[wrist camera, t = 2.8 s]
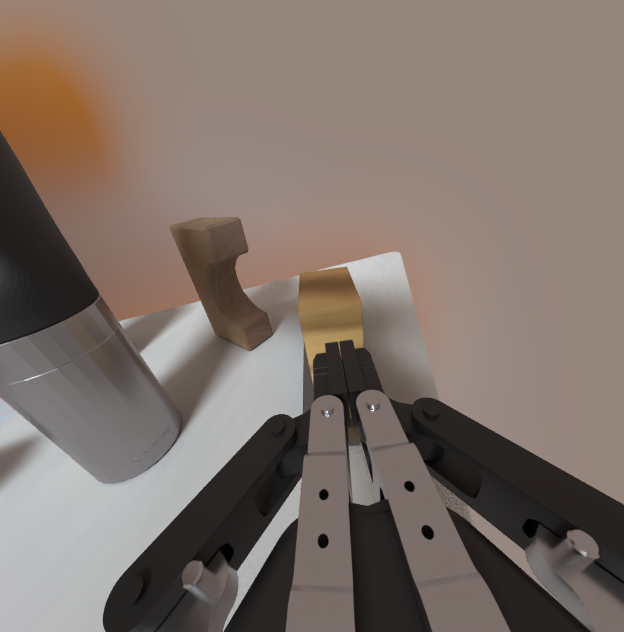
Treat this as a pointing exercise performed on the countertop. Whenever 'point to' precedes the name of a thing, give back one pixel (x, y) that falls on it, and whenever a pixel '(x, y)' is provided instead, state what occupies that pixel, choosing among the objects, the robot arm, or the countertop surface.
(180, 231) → the decorative block
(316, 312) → the slider block
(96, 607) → the countertop surface
